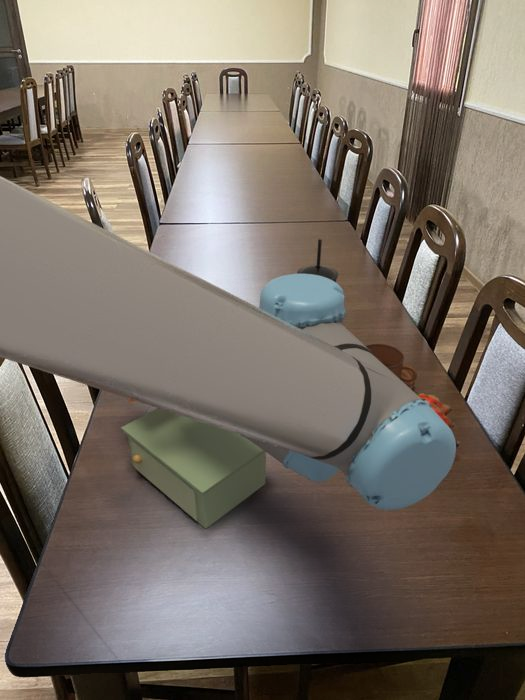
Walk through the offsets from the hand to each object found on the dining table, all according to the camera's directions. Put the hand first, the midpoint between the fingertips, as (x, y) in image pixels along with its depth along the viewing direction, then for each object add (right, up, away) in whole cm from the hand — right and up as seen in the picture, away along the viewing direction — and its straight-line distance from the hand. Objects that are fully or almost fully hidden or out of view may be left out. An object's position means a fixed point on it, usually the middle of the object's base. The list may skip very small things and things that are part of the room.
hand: (112, 317), depth 74 cm
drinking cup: (+31, -2, +32) cm, 45 cm away
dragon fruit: (+44, -19, +5) cm, 48 cm away
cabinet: (+12, -22, 0) cm, 25 cm away
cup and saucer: (+40, -11, +18) cm, 46 cm away
